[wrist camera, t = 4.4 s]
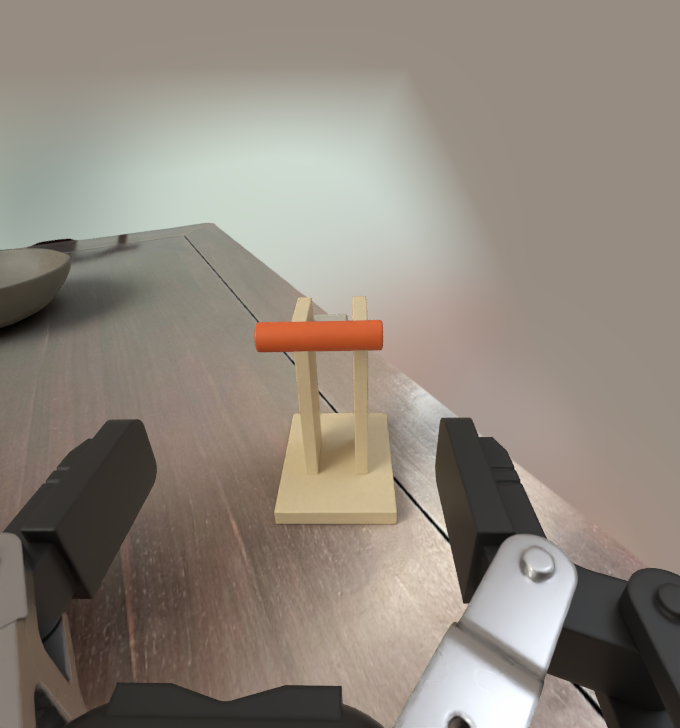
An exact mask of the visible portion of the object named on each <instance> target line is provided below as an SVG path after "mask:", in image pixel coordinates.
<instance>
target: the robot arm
mask: <svg viewBox="0 0 680 728" xmlns="http://www.w3.org/2000/svg"><path fill="white" fill-rule="evenodd" d="M435 471H436V482H437V487H438V492H439V496H440V501H441V505H442V510H443V514H444V519H445V523H446V528H447V532H448V536H449V541H450V545H451V550H452V554H453V559H454V563H455V568H456V572H457V577H458V581H459V585H460V590H461V594H462V599H463V603H464V604H469V605H468V607H467V608H466V610H465V612H464V614H463V616H462V617H461V619H460V620H459V622H458V623H456V622H454V623H453V624H452V625H451V626H450V627H449V629H448V630H447V632H446V633H445V635H444V637H443V639H442V640H441V642H440V644H439V646H438V648H437V649H436V651H435V653H434V655H433V656H432V658H431V660H430V662H429V664H428V665H427V667H426V669H425V671H424V673H423V674H422V676H421V678H420V680H419V681H418V683H417V685H416V687H415V689H414V690H413V692H412V694H411V696H410V698H409V699H408V701H407V703H406V705H405V706H404V708H403V710H402V712H401V714H400V715H399V717H398V719H397V721H396V723H395V724H394V726H393V728H529V727H530V724H531V721H532V718H533V716H534V713H535V710H536V707H537V704H538V701H539V698H540V695H541V692H542V689H543V685H544V679H545V676H546V673H548V674H550V675H553V676H556V677H559V678H561V679H564V680H567V681H569V682H572V683H575V684H578V685H580V686H583V687H586V688H589V689H591V690H594V691H595V694H596V697H597V700H598V702H599V705H600V708H601V711H602V713H603V716H604V719H605V722H606V724H607V727H608V728H680V576H679V575H677V574H674V573H672V572H669V571H666V570H662V569H656V568H645V569H641V570H638V571H636V572H635V573H634V574H632V576H631V577H630V579H629V581H626V580H622V579H619V578H615V577H612V576H608V575H604V574H601V573H597V572H594V571H591V570H588V569H585V568H583V567H580V566H578V565H576V564H574V563H573V562H572V560H571V559H570V557H569V556H568V555H567V554H566V552H564V551H563V550H562V549H561V548H560V547H559V546H557V545H556V544H555V543H553V542H551V541H550V540H548V539H547V537H546V536H545V534H544V531H543V529H542V527H541V525H540V523H539V520H538V518H537V516H536V514H535V512H534V509H533V507H532V505H531V503H530V501H529V498H528V496H527V494H526V492H525V490H524V487H523V485H522V484H521V483H520V479H519V476H518V474H517V472H516V470H514V465H513V463H512V461H511V459H510V457H509V454H508V452H507V451H506V450H505V449H504V448H503V447H502V446H501V445H500V444H499V443H498V442H497V441H496V440H495V439H494V438H493V437H479V436H478V434H477V431H476V429H475V426H474V423H473V421H472V419H471V418H441V420H440V426H439V435H438V444H437V453H436V464H435ZM156 473H157V465H156V460H155V457H154V454H153V451H152V448H151V445H150V442H149V439H148V436H147V433H146V430H145V427H144V425H143V423H142V422H141V421H140V420H138V419H133V420H108V421H107V422H106V423H105V424H104V425H103V426H102V428H101V429H100V430H99V431H98V433H97V434H96V435H95V436H94V438H93V439H87V440H86V441H85V442H83V443H82V444H80V445H79V446H78V447H76V448H75V449H73V450H72V451H70V452H69V453H68V455H67V456H66V457H65V458H64V459H63V461H62V462H61V463H60V464H59V465H58V467H57V470H56V471H53V473H52V474H51V475H50V476H49V477H48V479H47V480H46V484H43V485H42V486H41V487H40V488H39V489H38V491H37V492H36V493H35V494H34V495H33V497H32V498H31V499H30V500H29V501H28V502H27V504H26V505H25V506H24V507H23V508H22V510H21V511H20V512H19V513H18V514H17V516H16V517H15V518H14V519H13V520H12V522H11V523H10V524H9V525H8V526H7V528H6V529H5V530H4V531H3V532H2V533H0V728H384V727H383V726H382V725H381V724H380V723H378V722H377V721H375V720H374V719H373V718H371V717H370V716H369V715H367V714H365V713H363V712H361V711H359V710H357V709H356V708H353V707H350V706H348V705H345V704H343V702H342V686H304V685H285V686H281V687H278V688H274V689H271V690H267V691H264V692H260V693H256V694H253V695H249V696H246V697H242V698H239V699H235V700H232V701H227V702H226V701H219V700H216V699H213V698H210V697H208V696H205V695H202V694H200V693H197V692H194V691H191V690H189V689H186V688H183V687H180V686H178V685H175V684H172V683H117V685H116V688H115V690H114V692H113V695H112V697H111V700H110V702H109V703H106V704H104V705H102V706H99V707H97V708H94V709H92V710H90V711H87V708H86V706H85V704H84V701H83V699H82V696H81V692H80V688H79V682H78V676H77V670H76V664H75V658H74V652H73V645H72V639H71V633H70V627H69V621H68V617H67V614H66V613H65V609H66V607H67V605H68V604H69V602H70V600H71V599H93V597H94V595H95V593H96V591H97V589H98V587H99V586H100V584H101V582H102V580H103V578H104V576H105V574H106V573H107V571H108V569H109V567H110V565H111V563H112V561H113V559H114V558H115V556H116V554H117V552H118V550H119V548H120V546H121V545H122V543H123V541H124V539H125V537H126V535H127V533H128V532H129V530H130V528H131V526H132V524H133V522H134V520H135V519H136V517H137V515H138V513H139V511H140V509H141V507H142V505H143V504H144V502H145V500H146V498H147V496H148V494H149V492H150V491H151V489H152V487H153V485H154V482H155V479H156Z"/></svg>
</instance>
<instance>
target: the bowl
mask: <svg viewBox="0 0 680 728" xmlns="http://www.w3.org/2000/svg"><path fill="white" fill-rule="evenodd" d="M70 267H71V258H70V256H69V255H67V254H63V253H61V252H58V251H54V250H49V249H36V248H28V249H7V250H0V328H2V327H5V326H8V325H11V324H14V323H16V322H19V321H21V320H23V319H24V318H26V317H28V316H30V315H32V314H34V313H36V312H38V311H40V310H41V309H42V308H44V307H45V306H46V305H47V304H48V303H49V302H50V301H51V300H52V299H53V298H54V296H55V295H56V294H57V292H58V291H59V289H60V288H61V286H62V285H63V283H64V282H65V280H66V278H67V276H68V274H69V271H70Z"/></svg>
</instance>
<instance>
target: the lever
mask: <svg viewBox="0 0 680 728" xmlns="http://www.w3.org/2000/svg"><path fill="white" fill-rule="evenodd" d="M254 338H255V346H256V349H257V351H258V352H304V351H365V350H382V348H383V324H382V321H381V320H355V321H348V320H347V315H346V314H337V315H336V314H332V315H314V321H304V322H259V323H257V324H256V327H255V334H254Z"/></svg>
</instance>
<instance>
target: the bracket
mask: <svg viewBox="0 0 680 728" xmlns="http://www.w3.org/2000/svg"><path fill="white" fill-rule="evenodd" d="M355 320H368V318H367V302H366V296H359V297H358V296H356V297H353V301H352V321H355ZM304 321H313V309H312V298H310V297H307V298H298V301H297V304H296V308H295V311H294V315H293V318H292V321H291V322H304ZM294 359H295V369H296V378H297V388H298V398H299V408H300V414H294V416H293V421H292V426H291V431H290V436H289V441H288V446H287V451H286V456H285V461H284V466H283V471H282V476H281V481H280V486H279V491H278V496H277V501H276V506H275V511H274V514H275V520H276V524H396V523H397V508H396V498H395V489H394V479H393V470H392V461H391V451H390V442H389V433H388V423H387V414H386V413H368V350H365V351H353V376H354V413H320V406H319V392H318V379H317V365H316V351H304V352H294Z"/></svg>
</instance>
